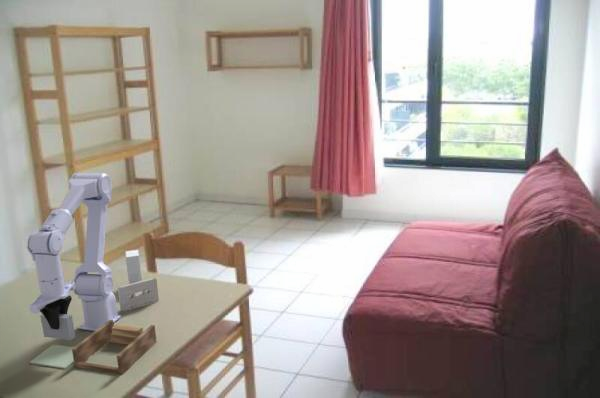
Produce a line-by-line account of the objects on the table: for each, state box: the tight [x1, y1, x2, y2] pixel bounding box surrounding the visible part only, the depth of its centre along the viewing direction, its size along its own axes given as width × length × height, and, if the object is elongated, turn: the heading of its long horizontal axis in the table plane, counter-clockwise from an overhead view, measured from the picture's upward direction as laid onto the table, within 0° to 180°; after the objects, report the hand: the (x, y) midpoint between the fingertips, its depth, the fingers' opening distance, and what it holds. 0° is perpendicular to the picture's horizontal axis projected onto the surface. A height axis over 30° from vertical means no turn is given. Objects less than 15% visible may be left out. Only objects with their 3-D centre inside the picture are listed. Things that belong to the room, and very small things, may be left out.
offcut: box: [110, 323, 144, 346], centre depth 158 cm, size 2×9×4 cm, turn 73°
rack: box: [72, 320, 157, 375], centre depth 152 cm, size 16×14×5 cm
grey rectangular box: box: [39, 313, 76, 341], centre depth 150 cm, size 2×8×6 cm, turn 73°
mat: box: [29, 344, 75, 370], centre depth 152 cm, size 9×11×1 cm
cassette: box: [117, 277, 160, 312], centre depth 179 cm, size 12×2×8 cm, turn 124°
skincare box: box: [124, 249, 143, 285], centre depth 192 cm, size 6×4×12 cm
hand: (58, 326), depth 150 cm, fingers closed on grey rectangular box, 2 cm apart
